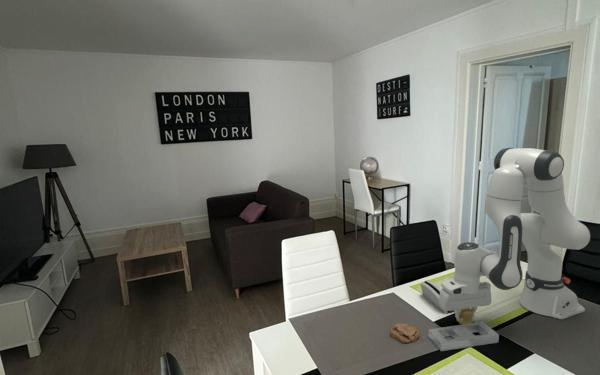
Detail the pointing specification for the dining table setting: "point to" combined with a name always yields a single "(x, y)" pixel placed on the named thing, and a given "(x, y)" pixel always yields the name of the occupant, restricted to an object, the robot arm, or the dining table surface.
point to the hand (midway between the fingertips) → (464, 316)
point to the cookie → (404, 333)
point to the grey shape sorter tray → (463, 336)
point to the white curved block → (432, 293)
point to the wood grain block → (465, 316)
